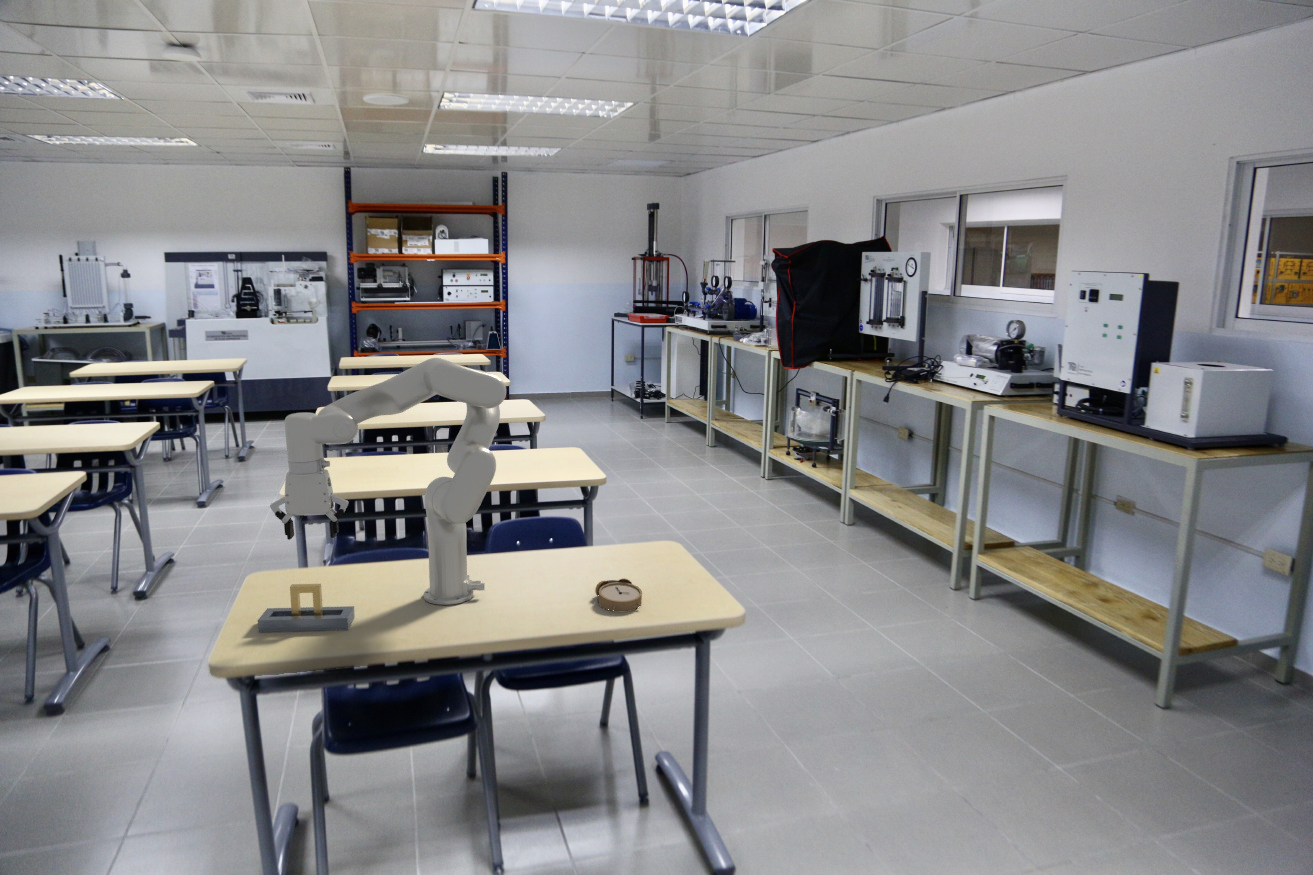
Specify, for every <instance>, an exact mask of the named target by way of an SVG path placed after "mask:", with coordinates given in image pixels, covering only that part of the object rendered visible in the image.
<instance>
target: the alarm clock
mask: <svg viewBox="0 0 1313 875" xmlns="http://www.w3.org/2000/svg"><path fill="white" fill-rule="evenodd" d="M594 592H595V595H596V596H597V597H598V595H599V597H598V601H597V602H598V606H599V607H600V608H602V607H603V608H606V609H607V610H606V611H608V609H609V610H614V611H627V612H630V610H632V611H635V610H637V609H636V608H638V607H639V606H640V607H641V606H642V603H643V601H642V598H643V596H642V595H643V591H642V589H641V588H640V587H639V586H638V585H635V584H633V583H632V581H631V580H630V579H628V578H625V577H624V578H623V577H622V578H620V579H618V580H617V579H607V580H601V581H599V582H598V584H597V585H596V587H595V589H594ZM640 607H639V608H640ZM603 608H602V609H603ZM639 608H638V609H639ZM634 609H635V610H634Z"/></svg>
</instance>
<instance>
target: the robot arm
mask: <svg viewBox="0 0 1313 875" xmlns="http://www.w3.org/2000/svg"><path fill="white" fill-rule="evenodd" d="M436 395H438V396H441V397H443V398H445V399H446V398H447V399H450V400H453V401H456V402H460V403H465V404H466V413H465V414H466V415H465V418H464V420H463V423H462V426H461V428H460V430H459V432H458V434H457V435H456V437H455V440H454V442H453V443H452V445H451V447H450V449H449V452H448V454H447V455H446V456H447V457H446V463H447V466H448V468H449V469H450V470H451V472H453V477H450V476H440V477H436V478H435V479H433V480H432V481H430V483H429V484H428V485H427V487H426V489H425V494H424V507H425V512H426V519H427V520H426V521H427V532H428V533H427V534H428V536H427V537H428V541H427V542H428V570H429V571H428V572H429V573H428V577H429V587H428V588H426V589H425V590H424V591H423V599H424V600H425V601H426V602H428V603H430V604H433V605H441V606H447V605H448V606H451V605H457V604H461V603H464V602H467V601H468V600H470V599H472V598H473V596H474V591H481V592H482V591H485V589H486V588H485V585H486V584H485V583H484V582H481V580H472V579H470V575H468V565H467V564H468V560H467V558H468V557H467V554H468V552H467V551H468V550H467V524H466V523H467V522H468V521H470V520H471V519H472V518H473V517H474V516H475V515H476V513H477V511H478V510H479V508H480V506H481V504H482V502H483V500H484V498H485V496H486V494H487V492H488V489H489V488H490V486H491V484H492V482H493V479H494V477H495V474H496V470H497V461H496V457H495V454H493V452H492V451H491V450H490V447H491V445H492V443H493V441H494V438H495V436H496V433H497V430H498V428H499V424H500V419H501V410H500V409H501V408H500V405H501V404H502V403H503V402H504V400H505V398H506V395H507V387H506V384H505V382H504V381H503V379H502V378H500V377H499V376H498V375H495V374H492V373H490V372H487V371H484V370H481V369H474V368H470V367H468V366H465V365H460V364H458V363H455V362H452V361H449V360H446V359H444V358H441V357H433V358H429V359H426V360H424V361H421V362H420V363H418V364H416V365H414V366H412V367H410V368H408V369H406V370H404V371H403V372H400V373H398V374H396V375H394V376H392V377H390V378H388V379H386V380H383V381H382V382H379V383H376V384H373V385H371V386H368V387H366V388H362V389H360V390H356V391H355V392H354V391H353V392H352V393H349V394H347V395H345V396H343V397H341V398H339V399H337V400H335V401H333V402H331V403H329V404H328V405H325V406H324V407H323V408H322V409H321V410H320V411H319V412H318V413H317V414H316V413H314V412H296V413H295V412H294V413H290V414H288V415H286V417H285V419H284V430H285V431H284V432H285V443H286V445H285V446H286V452H287V454H286V455H287V465H288V471H287V472H286V473H285V474H286V475H285V483H284V496H283V497H281V498H280V499H279V498H278V500H276V501H275V500H274V502H271V503H270V505H269V508H270V509H271V511H272V513H274V516H275V517H276V518H277V519H278V520H280V522H281V523H282V524H283V528H284V529H283V530H284V535H285V536H286V537H287V540H289V541H290V540H291V539H292V538H294V536H295V528H294V520H293V519H292V517H293V516H313V515H315V516H316V515H326V516H327V517H328V519H330V521H329V534H330V535H329V536H330V538H331V539H334V538H335V537H336V536H337V534H339V532H340V529H339V518H340V517H342V516H343V514H344V513H345V511H346V509H347V508H348V506H349V502H350V501H348V500H346V499H344V498H342V497H341V496H338V495H335V494H334V491H333V485H332V480H331V479H332V478H331V476H330V472H329V470H328V469H326V468H327V467H331V461H330V460H325V457H324V454H323V452H324V451H323V444H324V445H326V444H328V445H329V444H330V445H342V444H346V443H347V444H348V443H350V442H351V441H353V440H354V439H355V438H356V436H357V435H358V432H359V424H360V423H362V422H364V421H367V420H369V419H372V418H376V417H381V416H382V417H383V416H393V415H397V414H402V413H404V412H406V411H407V410H409V409H411V408H413V407H416V406H417V405H419V404H421V403H423V402H425V401H427V400H428V399H430V398H432V397H434V396H436ZM283 504H284V507H285V512H286V513H285V512H284V510H282V509H281V508H280V506H282V505H283ZM335 504H338V505H340V507H339V509H338V510H337V511H336V510H335V508H334V507H335Z"/></svg>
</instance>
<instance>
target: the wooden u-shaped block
mask: <svg viewBox="0 0 1313 875" xmlns="http://www.w3.org/2000/svg"><path fill="white" fill-rule="evenodd" d="M289 593H290V596H289V597H290V608H291V611H292V616H301V608H302V607H301V596H300V595H301V594H311V593H312V603H313V604H312V607H313V608H314V616H323V608H322V607H323V594H322V593H323V591H322V583H294V584H291V585H290V586H289Z"/></svg>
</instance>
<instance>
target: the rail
mask: <svg viewBox="0 0 1313 875" xmlns="http://www.w3.org/2000/svg"><path fill="white" fill-rule="evenodd" d="M300 608H301V616H292V611H291V607H273V608H271V607H269V608H268V607H267V608H266V609H265V610H264V612H263V613H262V615H260V617H259V618H258V619H257V629H258V630H257V632H258V633H285V632H286V633H289V632H290V633H292V632H296V633H297V632H324V631H325V632H326V631H348V630H349V629H350V628H351V626H352V623H353V621H354V620H355V606H353V605H351V606H350V605H349V606H348V605H347V606H322V608H323V616H314V608H313V606H311V607H310V606H309V607H304V606H303V607H300Z"/></svg>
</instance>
